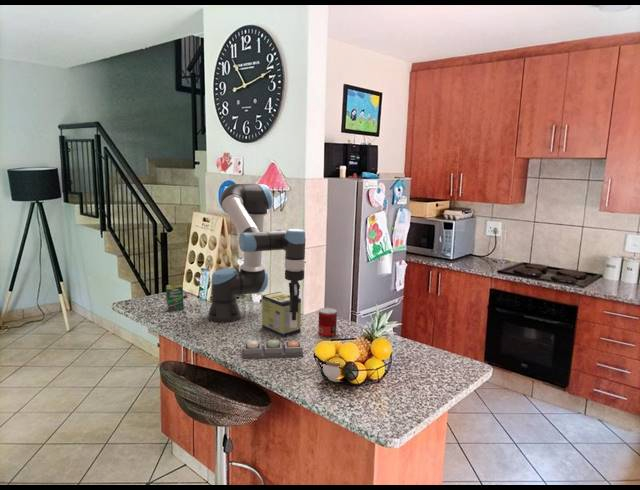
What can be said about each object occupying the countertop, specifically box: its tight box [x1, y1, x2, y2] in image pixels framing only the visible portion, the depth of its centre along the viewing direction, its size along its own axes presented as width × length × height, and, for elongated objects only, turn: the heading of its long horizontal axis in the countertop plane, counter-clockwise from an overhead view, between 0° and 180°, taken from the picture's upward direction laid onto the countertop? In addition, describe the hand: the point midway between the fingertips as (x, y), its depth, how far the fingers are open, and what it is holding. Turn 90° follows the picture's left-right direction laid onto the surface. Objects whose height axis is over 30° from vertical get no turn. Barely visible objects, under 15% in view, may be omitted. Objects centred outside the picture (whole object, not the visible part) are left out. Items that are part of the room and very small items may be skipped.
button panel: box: [243, 340, 304, 360], centre depth 180 cm, size 23×10×3 cm, turn 99°
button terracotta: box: [287, 340, 299, 347], centre depth 181 cm, size 4×4×2 cm
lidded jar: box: [322, 361, 342, 383], centre depth 159 cm, size 11×11×9 cm
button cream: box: [246, 339, 259, 349], centre depth 178 cm, size 4×4×2 cm
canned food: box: [317, 307, 338, 338], centre depth 200 cm, size 8×8×11 cm
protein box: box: [261, 291, 302, 338], centre depth 204 cm, size 10×16×16 cm
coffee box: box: [165, 283, 185, 312], centre depth 227 cm, size 8×3×13 cm, turn 118°
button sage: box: [267, 339, 280, 348], centre depth 179 cm, size 4×4×2 cm
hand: (293, 326), depth 180 cm, fingers closed
